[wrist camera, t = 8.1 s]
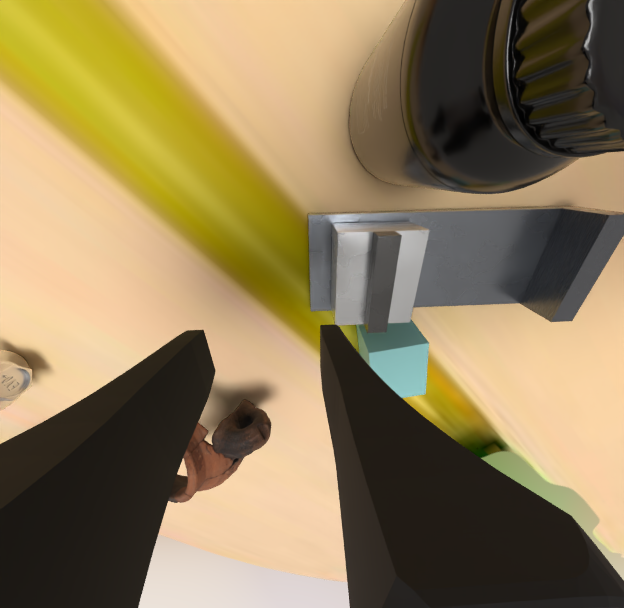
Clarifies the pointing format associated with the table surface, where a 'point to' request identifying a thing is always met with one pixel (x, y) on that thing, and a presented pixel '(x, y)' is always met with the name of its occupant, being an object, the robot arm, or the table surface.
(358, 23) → the table surface
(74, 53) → the table surface
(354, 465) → the robot arm
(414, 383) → the teal block
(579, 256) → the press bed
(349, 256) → the grey stepped block
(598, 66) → the supplement bottle
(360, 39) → the table surface
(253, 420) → the brown looped part
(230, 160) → the table surface
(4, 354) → the screw
